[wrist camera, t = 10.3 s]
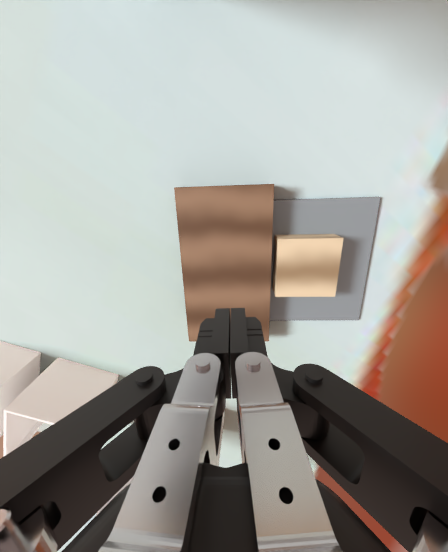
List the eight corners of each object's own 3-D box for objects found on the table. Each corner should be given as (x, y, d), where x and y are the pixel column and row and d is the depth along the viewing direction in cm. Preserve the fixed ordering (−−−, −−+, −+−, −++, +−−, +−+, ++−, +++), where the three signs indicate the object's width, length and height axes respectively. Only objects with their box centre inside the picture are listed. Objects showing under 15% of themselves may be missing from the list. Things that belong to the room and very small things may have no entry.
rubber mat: (262, 200, 32) (262, 200, 32) (378, 196, 32) (380, 196, 31) (260, 319, 39) (260, 320, 38) (357, 318, 38) (358, 320, 37)
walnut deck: (179, 187, 32) (174, 187, 30) (270, 184, 32) (274, 184, 29) (192, 330, 40) (189, 341, 37) (266, 330, 39) (268, 341, 36)
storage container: (119, 373, 44) (83, 431, 34) (110, 416, 48) (75, 479, 37) (-22, 333, 42) (-105, 380, 32) (-20, 380, 46) (-93, 436, 36)
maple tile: (275, 234, 34) (278, 239, 31) (334, 233, 33) (343, 238, 30) (272, 288, 36) (275, 296, 34) (327, 288, 36) (335, 296, 33)
